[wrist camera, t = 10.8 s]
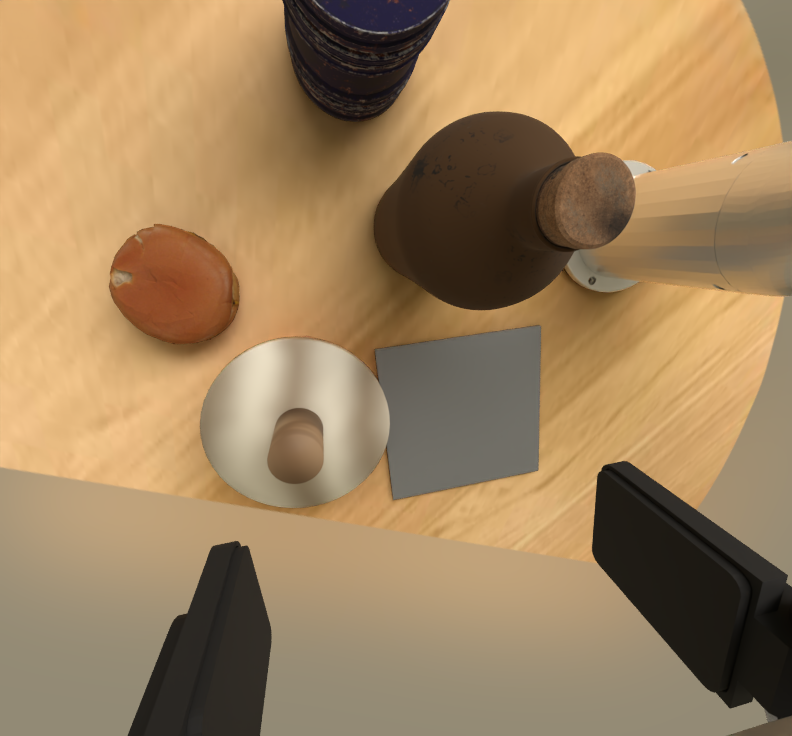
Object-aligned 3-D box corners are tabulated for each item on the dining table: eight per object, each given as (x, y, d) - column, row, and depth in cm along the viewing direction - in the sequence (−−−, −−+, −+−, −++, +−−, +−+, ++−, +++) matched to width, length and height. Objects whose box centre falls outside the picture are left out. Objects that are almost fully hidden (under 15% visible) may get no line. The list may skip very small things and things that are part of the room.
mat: (538, 325, 42) (541, 326, 42) (536, 468, 48) (538, 470, 48) (374, 349, 40) (375, 350, 39) (392, 497, 46) (393, 499, 45)
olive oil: (371, 289, 38) (455, 365, 15) (361, 169, 35) (447, 12, 11) (476, 280, 40) (701, 333, 16) (475, 163, 36) (759, 17, 13)
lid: (376, 324, 33) (388, 341, 27) (396, 481, 38) (410, 524, 32) (181, 352, 31) (148, 377, 25) (229, 515, 36) (211, 567, 30)
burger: (249, 333, 37) (239, 345, 33) (143, 342, 36) (118, 355, 31) (231, 223, 34) (217, 220, 30) (114, 228, 33) (82, 225, 28)
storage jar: (390, 141, 34) (438, 71, 20) (276, 96, 32) (242, -18, 18) (424, 11, 32) (505, -169, 18) (304, -48, 30) (290, -311, 16)
